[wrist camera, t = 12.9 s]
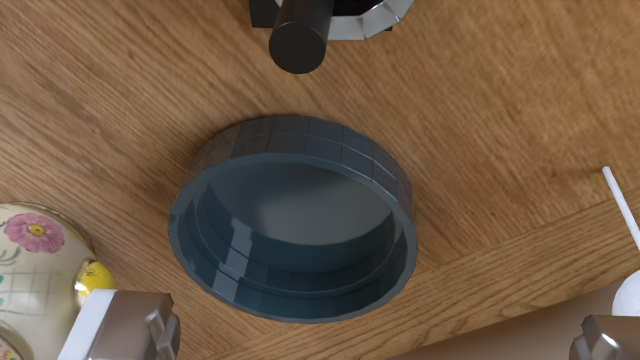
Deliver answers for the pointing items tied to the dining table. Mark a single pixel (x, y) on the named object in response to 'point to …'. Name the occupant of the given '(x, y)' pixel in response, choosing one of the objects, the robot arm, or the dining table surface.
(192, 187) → the bowl
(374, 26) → the ring
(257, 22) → the post
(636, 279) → the lollipop
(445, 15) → the dining table surface
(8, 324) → the teapot
